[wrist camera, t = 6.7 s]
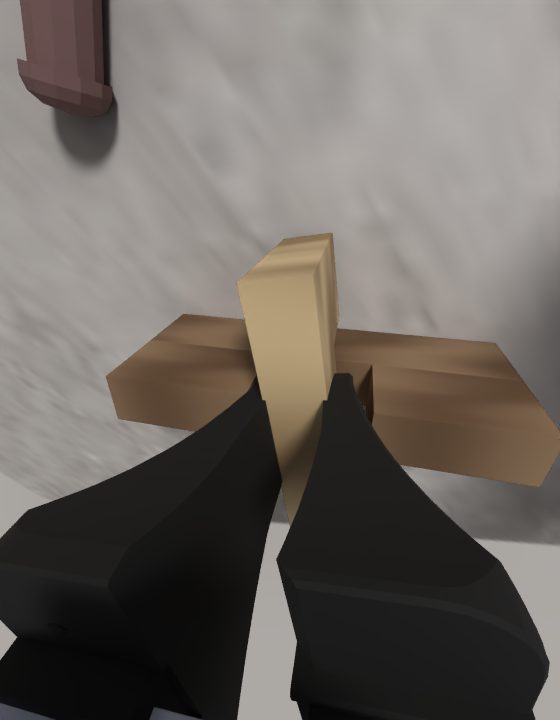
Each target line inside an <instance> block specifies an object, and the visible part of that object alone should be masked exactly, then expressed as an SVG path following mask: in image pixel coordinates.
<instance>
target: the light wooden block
mask: <svg viewBox="0 0 560 720" xmlns="http://www.w3.org/2000/svg"><path fill="white" fill-rule="evenodd" d="M237 286H238V291H239V295H240V300H241V304H242V309H243V313H244V318H245V323H246V327H247V332H248V336H249V341H250V345H251V350H252V354H253V359H254V364H255V368H256V373H257V377H258V382H259V386H260V391H261V395H262V400H266V405H267V410H268V414H269V419H270V424H271V429H272V434H273V439H274V443H275V448H276V453H277V458H278V463H279V467H280V472H281V477H282V485H281V487H282V491H283V496H284V500H285V505H286V509H287V514H288V518H289V523H290V527H291V524H292V522H293V520H294V517H295V515H296V512H297V510H298V507H299V504H300V501H301V498H302V496H303V493H304V490H305V487H306V484H307V481H308V478H309V474H310V471H311V468H312V464H313V461H314V458H315V454H316V450H317V446H318V442H319V438H320V434H321V427H322V412H323V400H327V398H328V394H329V390H330V386H331V382H332V379H333V376H334V373H337V371H336V361H335V350H334V343H335V337H336V331H337V324H338V318H339V306H338V294H337V282H336V269H335V257H334V245H333V233H326V234H319V235H311V236H304V237H296V238H289V239H284V240H283V241H282V242H281V243H279V244H278V245H277V246H276V247H275V248H274V249H273V250H272V251H271V252H270V253H269V254H267V255H266V256H265V257H264V258H263V259H262V260H261V261H260V262H259V263H258V264H257V265H255V266H254V267H253V268H252V269H251V270H250V271H249V272H248V273H247V274H246V275H245V276H244V277H242V278H241V279H240V280H239V281H238V282H237Z"/></svg>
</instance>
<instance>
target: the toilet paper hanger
mask: <svg viewBox="0 0 560 720" xmlns="http://www.w3.org/2000/svg"><path fill="white" fill-rule="evenodd" d="M20 5H21V14H22V22H23V31H24V39H25V47H26V56H27V61H24V60H21V59H17V62H18V70H19V75H20V77H21V79H22V81H23V83H24V85H25V87H26V89H27V90H28V91H29V92H31V93H32V94H33V95H34V96H35V97H36V98H38V99H39V100H40V101H41V102H42V103H44V104H47V105H49V106H52V107H55V108H57V109H60V110H62V111H65V112H68V113H70V114H78V115H87V116H98V115H100V114H102V113H105V112H107V111H108V109H109V107H110V105H111V103H112V87H110V86H107V85H104V70H103V31H102V0H20Z"/></svg>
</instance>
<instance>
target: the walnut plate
mask: <svg viewBox="0 0 560 720" xmlns="http://www.w3.org/2000/svg"><path fill="white" fill-rule="evenodd" d="M334 350H335V361H336V371H337V373H350V374H351V375H352V376H353V384H354V388H355V391H356V394H357V396H358V399H359V401H360V404H361V405H366V416H367V418H368V419H369V421H370V423H371V425H372V426H373V428H374V430H375V431H376V433H377V435H378V436H379V438H380V439H381V441H382V442H383V444H384V445H385V446H386V448H387V449H388V451H389V452H390V453H391V455H392V456H393V457H394V459H395V460H396V461H397V462H398V464H399V465H405V466H412V467H418V468H424V469H430V470H436V471H442V472H449V473H455V474H461V475H467V476H473V477H479V478H486V479H492V480H498V481H504V482H510V483H516V484H523V485H529V486H535V487H540V486H541V484H542V482H543V481H544V479H545V477H546V475H547V473H548V472H549V470H550V468H551V466H552V465H553V463H554V461H555V459H556V458H557V456H558V454H559V452H560V430H559V429H558V427H557V426H556V425H555V423H554V422H553V421H552V419H551V418H550V416H549V415H548V414H547V412H546V411H545V410H544V408H543V407H542V406H541V404H540V403H539V401H538V400H537V399H536V397H535V396H534V395H533V393H532V392H531V391H530V389H529V388H528V386H527V385H526V384H525V382H524V381H523V380H522V378H521V377H520V376H519V374H518V373H517V371H516V370H515V369H514V367H513V366H512V365H511V363H510V362H509V361H508V359H507V358H506V357H505V355H504V354H503V352H502V351H501V350H500V348H499V347H498V346H497V344H496V343H487V342H476V341H465V340H455V339H444V338H433V337H423V336H412V335H401V334H391V333H380V332H369V331H359V330H348V329H337V331H336V337H335V343H334ZM106 379H107V383H108V386H109V389H110V393H111V396H112V399H113V403H114V406H115V410H116V413H117V416H118V419H122V420H128V421H134V422H140V423H146V424H152V425H159V426H165V427H171V428H177V429H183V430H189V431H198V430H199V429H200V428H202V427H203V426H205V425H206V424H207V423H209V422H210V421H211V420H213V419H214V418H215V417H217V416H218V415H219V414H220V413H222V412H223V411H224V410H226V409H227V408H228V407H230V406H231V405H232V404H233V403H234V402H236V401H237V400H238V399H239V398H240V397H242V396H243V395H244V394H245V393H246V392H247V391H249V390H250V389H251V388H252V387H253V386H254V385H256V384H257V383H258V377H257V373H256V368H255V364H254V359H253V354H252V350H251V345H250V341H249V336H248V332H247V327H246V323H245V320H241V319H231V318H220V317H209V316H199V315H188V314H183V315H182V316H180V317H179V318H178V319H177V320H175V321H174V322H173V323H172V324H170V325H169V326H168V327H167V328H165V329H164V330H163V331H162V332H160V333H159V334H158V335H157V336H156V337H154V338H153V339H152V340H151V341H149V342H148V343H147V344H146V345H144V346H143V347H142V348H141V349H139V350H138V351H137V352H136V353H134V354H133V355H132V356H131V357H129V358H128V359H127V360H126V361H124V362H123V363H122V364H121V365H120V366H118V367H117V368H116V369H115V370H113V371H112V372H111V373H110V374H108V375H107V376H106Z"/></svg>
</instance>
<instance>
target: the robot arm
mask: <svg viewBox="0 0 560 720" xmlns="http://www.w3.org/2000/svg"><path fill="white" fill-rule="evenodd" d="M281 485H282V477H281V472H280V467H279V463H278V458H277V453H276V448H275V443H274V439H273V434H272V429H271V424H270V419H269V414H268V410H267V405H266V400H262V395H261V391H260V386H259V382H258V383H257V384H256V385H254V386H253V387H252V388H251V389H250V390H249V391H247V392H246V393H245V394H244V395H243V396H242V397H240V398H239V399H238V400H237V401H236V402H234V403H233V404H232V405H231V406H230V407H228V408H227V409H226V410H224V411H223V412H222V413H220V414H219V415H218V416H217V417H215V418H214V419H213V420H211V421H210V422H209V423H207V424H206V425H205V426H203V427H202V428H200V429H199V430H198V431H196V432H195V433H193V434H192V435H190V436H189V437H187V438H185V439H184V440H182V441H181V442H179V443H177V444H176V445H174V446H172V447H171V448H169V449H167V450H166V451H164V452H162V453H160V454H158V455H156V456H154V457H152V458H151V459H149V460H147V461H145V462H143V463H141V464H139V465H137V466H136V467H133V468H131V469H129V470H127V471H125V472H123V473H121V474H119V475H117V476H114V477H112V478H110V479H108V480H105V481H103V482H101V483H98V484H96V485H94V486H91V487H89V488H86V489H84V490H81V491H79V492H76V493H73V494H71V495H68V496H65V497H63V498H60V499H57V500H54V501H52V502H49V503H47V504H44V505H41V506H38V507H35V508H32V509H29V510H28V511H27V512H26V513H24V514H23V516H21V518H20V519H19V520H18V521H17V522H16V523H15V524H14V525H13V526H12V527H11V528H10V529H9V530H8V531H7V532H6V533H5V534H4V535H3V536H2V537H1V539H0V620H1V621H2V622H3V623H4V624H5V625H6V626H7V627H8V628H9V629H10V630H11V631H12V632H13V633H14V634H15V635H16V636H17V638H16V640H15V641H14V642H13V644H12V645H11V647H10V648H9V650H8V651H7V652H6V653H5V655H4V656H3V657H2V659H1V660H0V720H237V715H238V708H239V700H240V693H241V686H242V679H243V672H244V665H245V658H246V651H247V645H248V638H249V633H250V626H251V620H252V613H253V608H254V602H255V597H256V591H257V585H258V580H259V574H260V569H261V563H262V558H263V553H264V548H265V543H266V538H267V533H268V529H269V525H270V522H271V518H272V515H273V511H274V508H275V505H276V501H277V498H278V495H279V492H280V488H281ZM276 560H277V564H278V568H279V572H280V576H281V580H282V583H283V588H284V591H285V595H286V599H287V603H288V607H289V611H290V615H291V619H292V623H293V627H294V631H295V635H296V639H297V646H296V653H295V660H294V667H293V674H292V681H291V688H290V698H291V700H292V701H296V702H297V704H298V707H299V711H300V714H301V717H302V720H535V717H534V713H533V710H532V709H533V707H534V705H535V702H536V701H537V698H538V696H539V694H540V692H541V690H542V688H543V685H544V683H545V682H546V679H547V677H548V671H549V660H548V657H547V655H546V652H545V649H544V646H543V643H542V640H541V638H540V635H539V633H538V631H537V628H536V626H535V624H534V623H533V620H532V618H531V616H530V614H529V612H528V610H527V608H526V606H525V604H524V602H523V600H522V599H521V597H520V595H519V593H518V591H517V589H516V587H515V586H514V584H513V582H512V581H511V579H510V577H509V575H508V574H507V572H506V570H505V569H504V567H503V565H502V564H501V562H500V561H499V560H498V559H497V558H495V557H494V556H493V555H492V554H491V553H489V552H488V551H487V550H486V549H485V548H483V547H482V546H481V545H480V544H479V543H478V542H476V541H475V540H474V539H473V538H472V537H470V536H469V535H468V534H467V533H466V532H465V531H464V530H462V529H461V528H460V527H459V526H458V525H457V524H456V523H455V522H454V521H452V520H451V519H450V518H449V517H448V516H447V515H446V514H445V513H444V512H443V511H442V510H441V509H440V508H439V507H438V506H437V505H436V504H435V503H434V502H433V501H432V500H431V499H430V498H429V497H428V496H427V495H426V494H425V493H424V492H423V491H422V490H421V488H420V487H419V486H418V485H417V484H416V483H415V482H414V481H413V480H412V479H411V478H410V477H409V476H408V475H407V473H406V472H405V471H404V470H403V468H402V467H401V466H400V465H399V464H398V462H397V461H396V460H395V459H394V457H393V456H392V455H391V453H390V452H389V451H388V449H387V448H386V446H385V445H384V444H383V442H382V441H381V439H380V438H379V436H378V435H377V433H376V431H375V430H374V428H373V426H372V425H371V423H370V421H369V419H368V418H367V416H366V414H365V412H364V410H363V408H362V406H361V404H360V401H359V399H358V396H357V394H356V391H355V388H354V384H353V376H352V375H351V374H350V373H334V376H333V379H332V382H331V386H330V390H329V394H328V398H327V400H323V412H322V427H321V434H320V438H319V442H318V446H317V450H316V454H315V458H314V461H313V464H312V468H311V471H310V474H309V478H308V481H307V484H306V487H305V490H304V493H303V496H302V498H301V501H300V504H299V507H298V510H297V512H296V515H295V517H294V520H293V522H292V524H291V527H290V529H289V532H288V534H287V537H286V539H285V541H284V544H283V546H282V548H281V551H280V553H279V555H278V557H277V559H276Z"/></svg>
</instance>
